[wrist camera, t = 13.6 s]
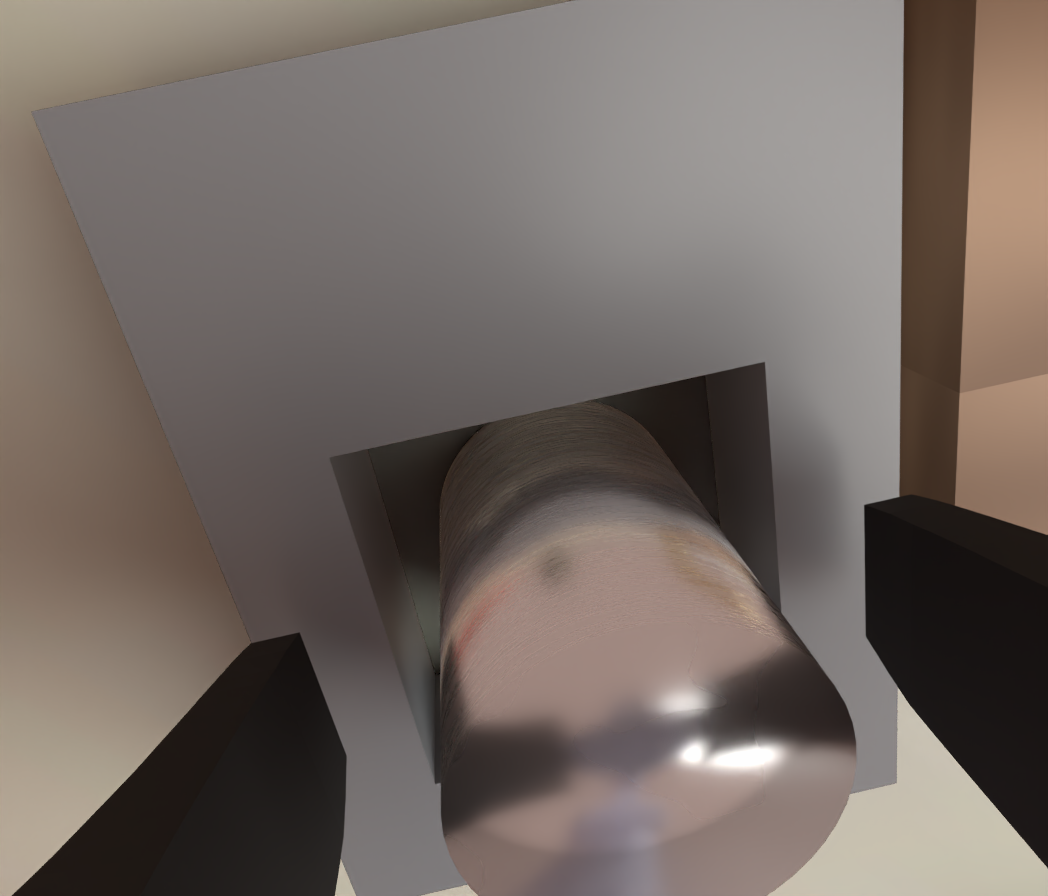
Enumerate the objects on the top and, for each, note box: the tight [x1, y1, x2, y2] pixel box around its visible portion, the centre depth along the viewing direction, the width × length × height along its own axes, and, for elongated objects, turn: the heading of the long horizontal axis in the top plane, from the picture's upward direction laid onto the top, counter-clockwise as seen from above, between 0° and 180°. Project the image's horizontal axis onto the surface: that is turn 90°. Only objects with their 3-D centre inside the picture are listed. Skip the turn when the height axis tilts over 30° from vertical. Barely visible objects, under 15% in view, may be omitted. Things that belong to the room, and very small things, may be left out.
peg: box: [440, 400, 856, 896], centre depth 10 cm, size 4×4×6 cm
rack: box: [31, 0, 904, 896], centre depth 11 cm, size 12×9×2 cm
